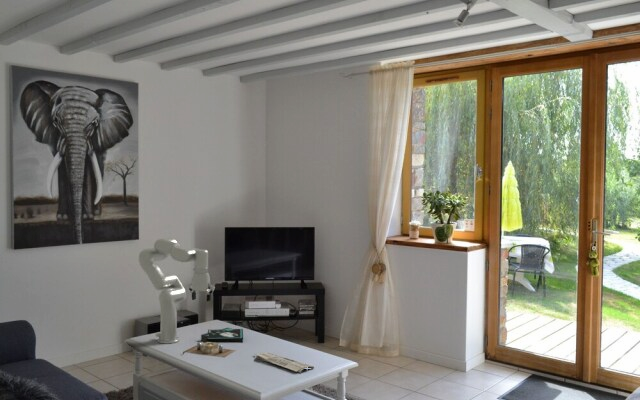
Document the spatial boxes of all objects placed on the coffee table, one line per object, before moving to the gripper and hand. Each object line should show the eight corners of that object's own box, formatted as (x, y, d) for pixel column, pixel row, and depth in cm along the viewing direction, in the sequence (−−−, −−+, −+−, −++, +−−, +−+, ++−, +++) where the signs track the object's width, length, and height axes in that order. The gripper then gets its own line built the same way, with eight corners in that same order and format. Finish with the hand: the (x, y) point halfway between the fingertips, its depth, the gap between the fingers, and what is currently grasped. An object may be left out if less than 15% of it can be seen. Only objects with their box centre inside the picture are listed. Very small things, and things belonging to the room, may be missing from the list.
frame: (200, 352, 326) (201, 345, 326) (207, 348, 332) (207, 341, 332) (211, 353, 324) (212, 346, 323) (218, 350, 330) (218, 343, 330)
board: (182, 354, 326) (183, 345, 326) (196, 347, 339) (196, 338, 339) (224, 360, 317) (224, 350, 317) (236, 352, 330) (236, 343, 330)
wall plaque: (190, 341, 354) (224, 350, 336) (190, 334, 354) (224, 343, 336) (225, 331, 378) (259, 339, 360) (225, 325, 378) (259, 333, 360)
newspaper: (314, 369, 305) (314, 363, 305) (297, 375, 296) (297, 368, 296) (267, 355, 328) (267, 349, 328) (251, 360, 319) (251, 354, 319)
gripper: (185, 270, 336) (184, 300, 336) (211, 273, 330) (211, 302, 331) (192, 269, 343) (191, 297, 343) (217, 271, 337) (217, 300, 338)
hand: (201, 300), depth 337 cm, fingers open, 9 cm apart
